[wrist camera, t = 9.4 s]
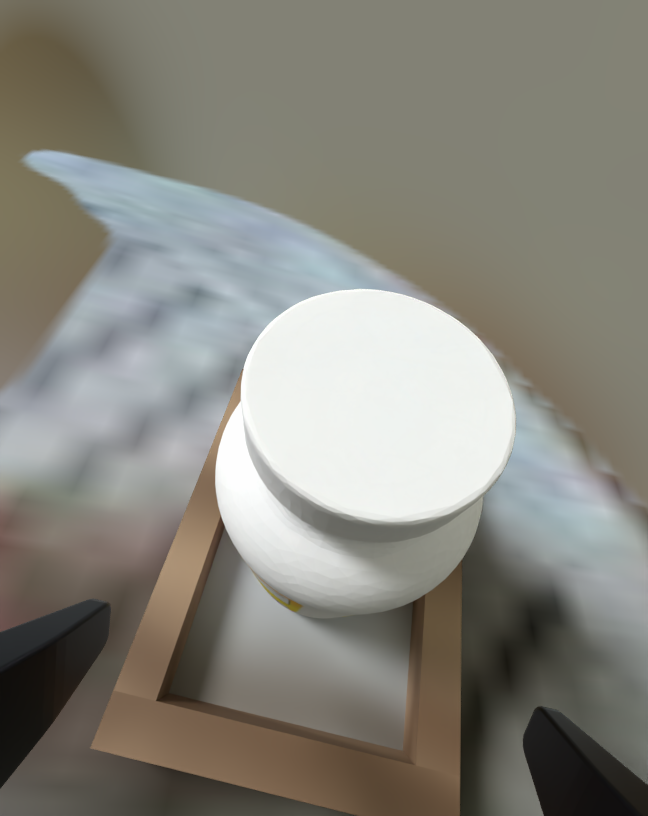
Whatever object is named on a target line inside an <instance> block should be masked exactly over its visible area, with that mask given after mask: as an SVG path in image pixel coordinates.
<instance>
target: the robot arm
mask: <svg viewBox="0 0 648 816" xmlns="http://www.w3.org/2000/svg"><path fill="white" fill-rule="evenodd" d="M110 614H111V605H110V603H108V602H105V601H101V600H97V599H89V600H86V601H83V602H81V603H78V604H75V605H72V606H70V607H67V608H64V609H62V610H59V611H56V612H54V613H51V614H48V615H45V616H43V617H40V618H37V619H35V620H32V621H29V622H26V623H24V624H21V625H18V626H16V627H13V628H10V629H8V630H5V631H2V632H0V788H1V787H2V786H3V785H4V783H5V782H6V781H7V780H8V778H9V777H10V776H11V775H12V773H13V772H14V771H15V770H16V769H17V767H18V766H19V765H20V764H21V762H22V761H23V760H24V759H25V757H26V756H27V755H28V754H29V752H30V751H31V750H32V749H33V747H34V746H35V745H36V744H37V742H38V741H39V740H40V739H41V737H42V736H43V735H44V733H45V732H46V731H47V730H48V728H49V727H50V726H51V724H52V723H53V722H54V720H55V719H56V717H57V716H58V715H59V713H60V712H61V710H62V709H63V707H64V706H65V704H66V703H67V701H68V700H69V698H70V697H71V695H72V694H73V692H74V691H75V690H76V688H77V687H78V685H79V684H80V682H81V681H82V679H83V678H84V676H85V675H86V673H87V672H88V670H89V669H90V667H91V666H92V664H93V663H94V661H95V660H96V658H97V657H98V655H99V654H100V652H101V651H102V649H103V647H104V646H105V644H106V641H107V638H108V634H109V625H110ZM523 748H524V753H525V757H526V760H527V763H528V766H529V769H530V773H531V776H532V779H533V782H534V785H535V789H536V792H537V795H538V798H539V801H540V805H541V808H542V811H543V814H544V816H648V785H647V784H646V783H644V782H643V781H642V780H641V779H640V778H638V777H637V776H636V775H635V774H634V773H632V772H631V771H630V770H629V769H628V768H626V767H625V766H624V765H623V764H622V763H621V762H619V761H618V760H617V759H616V758H615V757H613V756H612V755H611V754H610V753H609V752H607V751H606V750H605V749H604V748H603V747H601V746H600V745H599V744H598V743H597V742H595V741H594V740H593V739H592V738H591V737H590V736H588V735H587V734H586V733H585V732H584V731H582V730H581V729H580V728H579V727H578V726H576V725H575V724H574V723H573V722H572V721H570V720H569V719H568V718H567V717H566V716H564V715H563V714H562V713H561V712H559V711H557V710H554V709H550V708H546V707H542V706H539V707H537V708H536V709H535V710H534V712H533V714H532V717H531V719H530V721H529V723H528V726H527V728H526V730H525V733H524V736H523Z"/></svg>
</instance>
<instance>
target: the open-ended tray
mask: <svg viewBox="0 0 648 816" xmlns="http://www.w3.org/2000/svg"><path fill="white" fill-rule="evenodd" d="M243 370H244V369H242V372H241V374H240V377H239V379H238V382H237V384H236V387H235V389H234V392H233V394H232V396H231V399H230V401H229V404H228V406H227V409H226V411H225V414H224V416H223V419H222V421H221V424H220V426H219V429H218V431H217V434H216V436H215V439H214V441H213V444H212V446H211V449H210V451H209V454H208V456H207V459H206V461H205V464H204V466H203V469H202V471H201V474H200V476H199V479H198V481H197V484H196V486H195V489H194V491H193V494H192V496H191V499H190V501H189V504H188V506H187V509H186V511H185V513H184V516H183V518H182V521H181V523H180V526H179V528H178V531H177V533H176V536H175V538H174V541H173V543H172V546H171V548H170V551H169V553H168V556H167V558H166V561H165V563H164V566H163V568H162V571H161V573H160V576H159V578H158V581H157V583H156V586H155V588H154V591H153V593H152V596H151V598H150V601H149V603H148V606H147V608H146V611H145V613H144V616H143V618H142V621H141V623H140V625H139V628H138V630H137V633H136V635H135V638H134V640H133V643H132V645H131V648H130V650H129V653H128V655H127V658H126V660H125V663H124V665H123V668H122V670H121V673H120V675H119V678H118V680H117V683H116V685H115V688H114V690H113V693H112V695H111V698H110V700H109V703H108V705H107V708H106V710H105V713H104V715H103V718H102V720H101V723H100V725H99V728H98V730H97V733H96V735H95V738H94V740H93V742H92V745H91V747H90V748H92V749H96V750H100V751H104V752H108V753H112V754H115V755H119V756H123V757H127V758H131V759H135V760H139V761H143V762H147V763H151V764H155V765H159V766H163V767H167V768H171V769H175V770H179V771H183V772H187V773H191V774H195V775H199V776H203V777H207V778H211V779H214V780H218V781H222V782H226V783H230V784H234V785H238V786H242V787H246V788H250V789H254V790H258V791H262V792H266V793H270V794H274V795H278V796H282V797H286V798H290V799H294V800H298V801H302V802H306V803H310V804H313V805H317V806H321V807H325V808H329V809H333V810H337V811H341V812H345V813H349V814H353V815H357V816H460V740H461V627H462V560H461V561H460V563H459V564H458V565H457V567H456V568H455V569H454V570H453V571H452V572H451V573H450V574H449V576H448V577H447V578H446V579H445V580H444V581H442V582H441V583H440V584H439V585H437V586H436V587H435V588H434V589H433V590H431V591H429V592H428V593H426V594H425V595H423V596H422V597H420V598H419V599H417V600H415V601H413V602H410V603H408V604H406V605H404V606H401V607H398V608H394V609H391V610H388V611H384V612H378V613H372V614H362V615H351V616H345V617H336V618H323V619H321V618H312V617H307V616H304V615H300V614H298V613H295V612H293V611H291V610H289V609H287V608H285V607H284V606H282V605H281V604H279V603H278V602H277V601H276V600H275V599H273V598H272V597H271V596H270V595H269V593H268V592H267V591H266V590H265V589H264V588H263V586H262V585H261V584H260V582H259V581H258V579H257V578H256V577H255V575H254V573H253V572H252V570H251V569H250V567H249V566H248V565H247V563H246V562H245V561H244V560H243V558H242V557H241V555H240V554H239V552H238V551H237V549H236V547H235V546H234V544H233V542H232V540H231V538H230V536H229V534H228V532H227V530H226V528H225V525H224V523H223V520H222V517H221V514H220V510H219V507H218V501H217V495H216V487H215V469H216V460H217V454H218V449H219V445H220V442H221V438H222V435H223V432H224V430H225V427H226V425H227V423H228V421H229V419H230V417H231V415H232V413H233V412H234V410H235V409H236V407H237V406H238V404H239V403H240V401H241V380H242V375H243Z"/></svg>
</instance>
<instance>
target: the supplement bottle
mask: <svg viewBox="0 0 648 816" xmlns="http://www.w3.org/2000/svg"><path fill="white" fill-rule="evenodd" d="M515 435H516V413H515V406H514V402H513V397H512V393H511V390H510V388H509V385H508V382H507V380H506V378H505V376H504V374H503V372H502V370H501V368H500V366H499V365H498V363H497V361H496V360H495V358H494V356H493V355H492V354H491V352H490V351H489V350H488V349H487V347H486V346H485V345H484V344H483V343H482V342H481V340H480V339H479V338H478V337H477V336H476V335H475V334H474V333H472V332H471V331H470V330H469V329H468V328H467V327H465V326H464V325H463V324H462V323H460V322H459V321H458V320H456V319H455V318H453V317H451V316H450V315H448V314H446V313H445V312H443V311H441V310H440V309H438V308H436V307H434V306H432V305H430V304H427V303H425V302H423V301H420V300H417V299H415V298H412V297H409V296H406V295H402V294H398V293H393V292H388V291H381V290H370V289H355V290H343V291H336V292H331V293H326V294H322V295H318V296H314V297H312V298H309V299H307V300H304V301H301V302H300V303H298V304H296V305H294V306H293V307H291V308H289V309H288V310H286V311H285V312H283V313H282V314H281V315H279V316H278V317H277V318H276V319H274V320H273V321H272V322H271V323H270V324H269V325H268V326H267V327H266V328H265V330H264V331H263V332H262V333H261V334H260V336H259V337H258V339H257V340H256V342H255V343H254V345H253V347H252V349H251V351H250V353H249V355H248V356H247V359H246V363H245V366H244V370H243V375H242V380H241V401H240V403H239V404H238V406H237V407H236V409H235V410H234V412H233V413H232V415H231V417H230V419H229V421H228V423H227V425H226V427H225V430H224V432H223V435H222V438H221V442H220V445H219V449H218V454H217V460H216V469H215V487H216V495H217V501H218V507H219V510H220V514H221V517H222V520H223V523H224V525H225V528H226V530H227V532H228V534H229V536H230V538H231V540H232V542H233V544H234V546H235V547H236V549H237V551H238V552H239V554H240V555H241V557H242V558H243V560H244V561H245V562H246V563H247V565H248V566H249V567H250V569H251V570H252V572H253V573H254V575H255V577H256V578H257V579H258V581H259V582H260V584H261V585H262V586H263V588H264V589H265V590H266V591H267V592H268V593H269V595H270V596H271V597H272V598H273V599H275V600H276V601H277V602H278V603H279V604H281V605H282V606H284V607H285V608H287V609H289V610H291V611H293V612H295V613H298V614H300V615H304V616H307V617H312V618H321V619H323V618H336V617H345V616H351V615H362V614H372V613H378V612H384V611H388V610H391V609H394V608H398V607H401V606H404V605H406V604H408V603H410V602H413V601H415V600H417V599H419V598H420V597H422V596H423V595H425V594H426V593H428V592H429V591H431V590H433V589H434V588H435V587H436V586H437V585H439V584H440V583H441V582H442V581H444V580H445V579H446V578H447V577H448V576H449V574H450V573H451V572H452V571H453V570H454V569H455V568H456V567H457V565H458V564H459V563H460V561H461V560H462V558H463V557H464V555H465V554H466V552H467V550H468V548H469V547H470V545H471V543H472V540H473V538H474V536H475V533H476V530H477V527H478V523H479V520H480V516H481V511H482V505H483V496H484V495H485V494H486V493H487V492H488V491H489V490H490V489H491V487H492V486H493V485H494V484H495V483H496V481H497V480H498V479H499V477H500V475H501V474H502V472H503V470H504V469H505V467H506V465H507V463H508V460H509V458H510V455H511V453H512V449H513V444H514V439H515Z"/></svg>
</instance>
